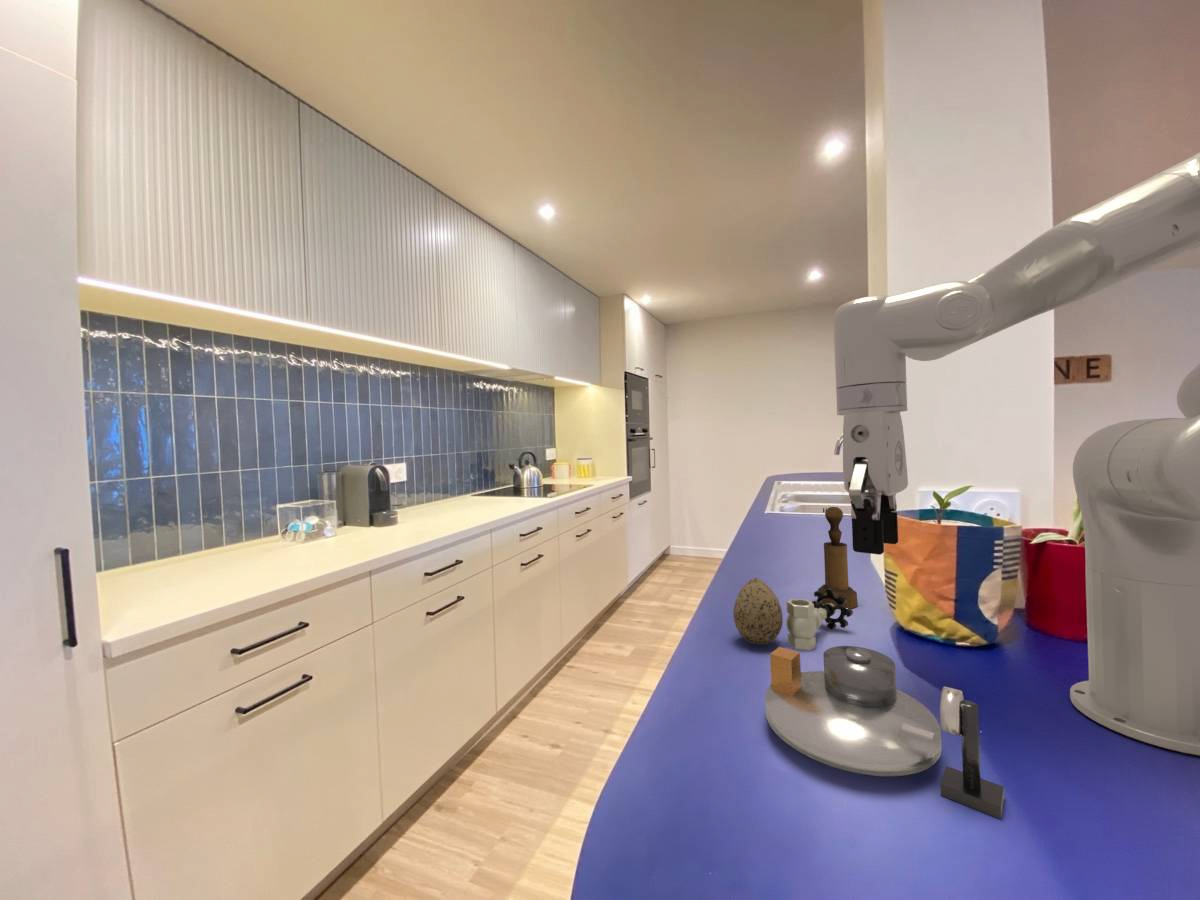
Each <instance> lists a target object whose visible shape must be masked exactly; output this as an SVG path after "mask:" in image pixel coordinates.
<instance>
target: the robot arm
mask: <svg viewBox="0 0 1200 900" xmlns="http://www.w3.org/2000/svg"><path fill="white" fill-rule="evenodd" d="M1197 248H1198V249H1199V248H1200V152H1198V153H1196V154H1195V155H1192V156H1191V157H1189V158H1187V159H1185V160H1182V161H1181V162H1179V163H1177V164H1174V165H1172V166H1170V167H1169V168H1167V169H1164V170H1163V171H1161V172H1160V171H1159V173H1156V174H1155V175H1153V176H1150V177H1149V178H1148V179H1145V180H1143V181H1140V182H1139V183H1137V184H1134V185H1133V186H1131V187H1129V188H1127V189H1125V190H1123V191H1121V192H1119V193H1117V194H1115V195H1113V196H1110V197H1109V198H1107V199H1105V200H1103V201H1100V202H1098V203H1097V204H1094V205H1091V207H1088V208H1086V209H1085V210H1084V209H1083V210H1082V211H1079V212H1078V213H1076V214H1074V215H1071V216H1070V217H1068V218H1066V219H1065V220H1063V221H1061V222H1059V223H1058V224H1056V225H1054V226H1053V227H1051V228H1050V229H1048V230H1046V231H1045V232H1043V233H1042V234H1040V235H1039V236H1037V237H1036V238H1034V239H1033V240H1031V241H1030V242H1029V243H1027V245H1025V246H1023V247H1022V248H1021V249H1019V250H1018V251H1017V252H1015V253H1013V254H1012V255H1010V256H1009V257H1008V258H1006V259H1005V260H1003V261H1001V262H999V263H998V264H996V265H995V266H993V267H991V268H989V269H988V270H986V271H984V272H982V273H980V274H979V275H977V276H976V277H973V278H972V279H970V280H968V281H966V280H956V281H955V280H954V281H946V282H942V283H941V282H940V283H937V284H932V285H929V286H925V287H922V288H920V289H915V290H910V291H908V292H903V293H898V294H894V295H883V294H882V295H870V296H864V297H860V298H856V299H852V300H850V301H848V302H845V303H843V304H842V305H841V304H840V306H839V307H838V308H837V309H836V310H835V313H834V315H833V338H834V339H833V341H834V343H833V344H834V345H833V346H834V366H835V367H834V368H835V371H834V372H835V393H836V416H843V426H842V428H843V429H842V473H843V474H842V475H843V477H842V478H843V484H844V490H845V491H846V492H847V493H848V496H849V499H850V506H851V511H850V512H851V513H850V515H851V532H852V533H851V535H852V550H853V551H854V552H855V553H862V554H870V555H872V554H873V555H877V556H878V555H883V554H884V553H885V544H887V545H889V544H890V545H897V544H898V543H899V526H898V525H899V523H898V522H899V521H898V512H897V509H898V507H897V504H898V503H897V499H896V494H898V493H901V492H902V491H904V490H906V489H907V488H908V485H909V480H908V479H909V478H908V469H907V468H908V467H907V456H906V455H907V454H906V444H905V443H906V442H905V435H904V434H905V432H904V426H903V420H902V415H901V412H908V393H907V389H908V388H907V364H906V362H907V361H906V359H907V358H908V359H912V360H913V361H914V360H915V361H920V362H930V361H935V360H939V359H941V358H944V357H946V356H948V355H951V354H952V353H955V352H957V351H959V350H961V349H963V348H965V347H968V346H970V345H972V344H975V343H977V342H980V341H981V340H983V339H986V338H988V337H990V336H993V335H994V334H997V333H999V332H1001V331H1004V330H1006V329H1008V328H1011V327H1013V326H1015V325H1018V324H1020V323H1022V322H1024V321H1027V320H1029V319H1031V318H1034V317H1037V316H1039V315H1042V314H1045V313H1047V312H1049V311H1053V310H1055V309H1058V308H1062V307H1065V306H1067V305H1069V304H1073V303H1075V302H1079V301H1081V300H1082V299H1084V298H1087V297H1089V296H1091V295H1094V294H1096V293H1098V292H1101V291H1103V290H1105V289H1107V288H1109V287H1111V286H1114V285H1117V284H1119V283H1121V282H1123V281H1126V280H1127V279H1130V278H1133V277H1134V276H1137V275H1139V274H1141V273H1144V272H1145V271H1148V270H1150V269H1152V268H1155V267H1156V266H1159V265H1161V264H1163V263H1165V262H1168V261H1170V260H1172V259H1175V258H1177V257H1179V256H1181V255H1184V254H1186V253H1188V252H1190V251H1193V250H1196V249H1197ZM906 357H907V358H906ZM1176 403H1177V407H1178V409H1179V411H1180V412H1181V414H1182V415H1183V416H1184V417H1169V418H1168V417H1165V418H1162V417H1161V418H1145V419H1144V418H1143V419H1142V418H1141V419H1134V420H1133V419H1132V420H1127V421H1120V422H1117V423H1114V424H1111V425H1107V426H1105V427H1102V428H1101V429H1099V430H1096V431H1095V432H1092V434H1090V435H1089V436H1088V437H1087V438H1086V439H1085V440H1084V441H1083V442H1082V443H1081V444H1080V446H1079V447H1078V449H1077V451H1076V453H1075V454H1074V458H1073V461H1072V462H1073V463H1072V477H1073V485H1074V490H1075V493H1076V496H1077V501H1078V505H1079V509H1080V513H1081V519H1082V520H1081V521H1082V526H1083V534H1084V535H1083V537H1084V550H1085V551H1084V552H1085V553H1084V554H1085V558H1084V559H1085V565H1084V566H1085V569H1084V570H1085V599H1086V626H1087V659H1088V680H1083V681H1080V682H1076V683H1074V684H1073V685H1071V687H1070V689H1069V691H1070V692H1069V699H1070V700H1071V701H1070V702H1071V704H1072V705H1074V707H1075V708H1076V709H1077V710H1078V711H1080V713H1082V714H1083V715H1084V716H1086V717H1088V718H1089V719H1091V720H1092V721H1095V722H1096V723H1098V724H1100V725H1101V726H1104V727H1106V728H1108V729H1110V730H1112V731H1114V732H1117V733H1119V734H1122V735H1124V736H1126V737H1128V738H1131V739H1135V740H1137V741H1140V742H1143V743H1146V744H1150V745H1153V746H1155V747H1156V746H1157V747H1159V748H1162V749H1167V750H1171V751H1176V752H1179V753H1183V754H1187V755H1188V754H1189V755H1195V756H1199V757H1200V363H1198V364H1197V365H1196V366H1195V367H1194V368H1192V370H1191V371H1190V372H1189V373H1187V375H1185V377H1184V378H1183V381H1181V384H1180V386H1178V390H1177V394H1176ZM866 491H867V492H866Z"/></svg>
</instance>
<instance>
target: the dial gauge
mask: <svg viewBox="0 0 1200 900" xmlns="http://www.w3.org/2000/svg"><path fill="white" fill-rule="evenodd" d="M939 702H940V704H939V720H940V721H939V725H940V729H941V731H944V732H946V733H949V734H952V735H956V736H959V737H961V762H962V766H961V767H962V770H959V769H956V768H954V767H952V766H948V765H946V766H945V769H944V771H943V775H942V777H941V781H940V783H939V785H940V787H939V789H940V796H942V797H945V798H947V799H949V800H951V801H954V802H957V803H958V804H959V803H960V804H962V805H963V806H967V807H969V808H971V809H974V810H977V811H978V812H981V813H984V814H987V815H990V816H992V817H995V818H997V819H1000V820H1002V815H1003V810H1004V803H1005V786H1004V785H1000V784H998V783H995V782H992V781H989V780H987V779H984V778H981V756H980V754H981V753H980V752H981V751H980V733H979V732H980V728H979V726H980V724H979V723H980V722H979V705H978V704H977V703H975V702H974V701H970V700H967V699H965V700H964V695H963V691H962V690H960V689H956V688H953V687H949V686H948V687H947V686H942V689H941V695H940V701H939Z"/></svg>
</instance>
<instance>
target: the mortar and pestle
mask: <svg viewBox="0 0 1200 900" xmlns="http://www.w3.org/2000/svg"><path fill="white" fill-rule="evenodd" d="M824 517H825V518H826V520H827V522H828V523H829V527H830V529H829V530H828V532H827V533H828V537H829V539H830V540H829V541H828V542H827V541H826V542H824V543H823V555H824V557H823V558H824V584H822V585H821V586H820V587H818V589H817V591H818V590H820V591H822V592H823V594H824V595H826V594H827V592H825V591H826V589H828V588H833V589H834V591H835V593H834V595H835V596H836V597H838V598H839V597H840V596H841V595H844V596H846V597H847V602H845V603H844V606H845V608H849V609H854V608H856V607H858V593H857V591H856V590H854V588H852V587H851V586H850V585H849V569H848V566H849V565H848V544H847V543H844V542H841V539H842V533H843V532H842V531H841V530H840V523H841V522H842V520H843V518H844V512H843V510H842V509H841V508H839V507H837V506H829V507H828V508H826V510H825V512H824ZM817 599H819V598H818V597H817ZM826 603H832V604H834V605H835V606H836V605H838V604H837V603H836V602H835V601H834V600H832V599H829V598H826V599H824V600H823V601H822V604H826ZM853 607H854V608H853Z"/></svg>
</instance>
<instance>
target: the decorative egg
mask: <svg viewBox="0 0 1200 900" xmlns="http://www.w3.org/2000/svg"><path fill="white" fill-rule="evenodd" d="M732 613H733V621H734V624H735V627H736V630H737V632H738V633H739V634H740V636H741V637H742V638H743V639H744V640H745V641H746V642H749V643H750V644H752V645H756V646H765V645H768V644H770V643H772V642H773V641H774V640H775V639H777V637H778V636H779V634H781V633H780V632H781V630H782V628H783V627H782V626H783V621H784V620H783V618H784V617H783V611H782V607H781V604H780V601H779V599H778V596H776V594H775V592H774V591H773V590H772V589H771V587H770V586H769V585H768V584H767V583H766V582H764V580H762V579H760V578H757V577H756V578H755V577H754V578H752V579H750V580H748V581H747V582H746V584H745V585H744V586H743V587H741V589H740V591H739V592H738V594H737V596H736V598H735V601H734V606H733V612H732Z"/></svg>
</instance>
